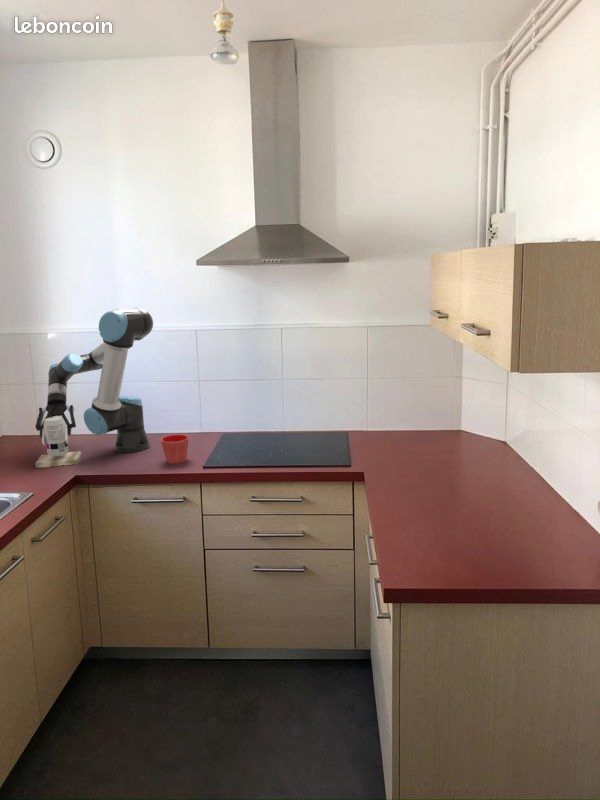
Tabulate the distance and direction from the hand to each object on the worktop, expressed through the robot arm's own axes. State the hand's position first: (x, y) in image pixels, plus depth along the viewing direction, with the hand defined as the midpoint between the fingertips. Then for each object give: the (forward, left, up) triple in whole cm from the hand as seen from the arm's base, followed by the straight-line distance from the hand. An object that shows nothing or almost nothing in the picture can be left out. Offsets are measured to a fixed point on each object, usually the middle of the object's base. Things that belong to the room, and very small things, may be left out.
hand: (55, 442), depth 252 cm
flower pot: (-48, +12, -9) cm, 50 cm away
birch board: (0, -3, -9) cm, 10 cm away
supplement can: (0, -3, -6) cm, 7 cm away
